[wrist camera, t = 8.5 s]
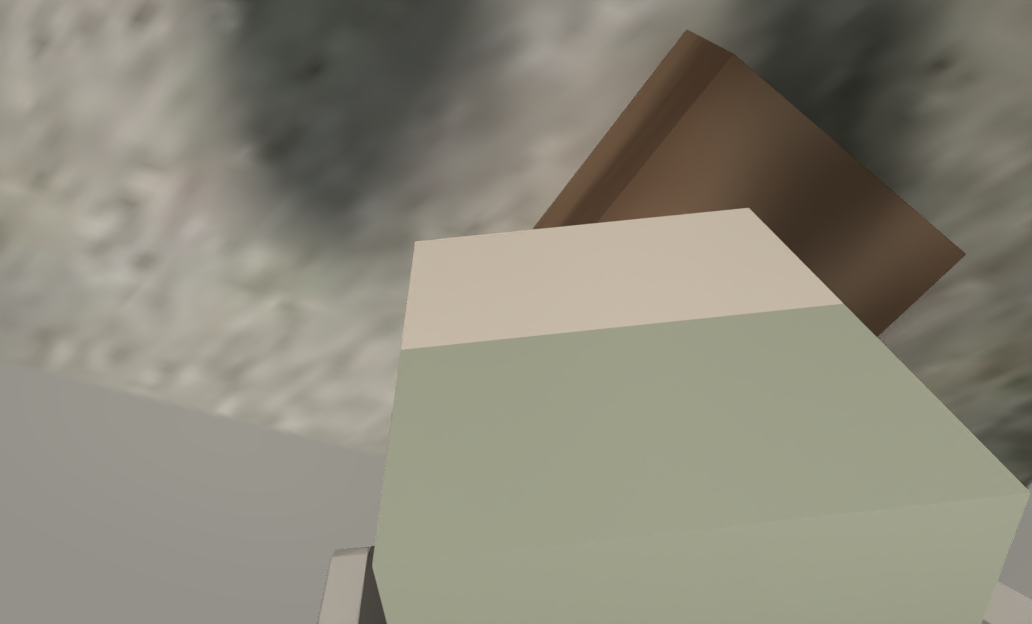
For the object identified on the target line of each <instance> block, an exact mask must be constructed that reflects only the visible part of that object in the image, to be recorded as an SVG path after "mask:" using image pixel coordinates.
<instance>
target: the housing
mask: <svg viewBox="0 0 1032 624" xmlns="http://www.w3.org/2000/svg"><path fill="white" fill-rule="evenodd" d="M1029 496H1030V492H1029V491H1028V490H1027V489H1026V488H1025V487H1024V485H1023V484H1022V483H1021V482H1020V481H1019V480H1018V479H1017V478H1016V477H1015V476H1014V475H1013V474H1012V473H1011V472H1010V471H1009V470H1008V469H1007V468H1006V467H1005V466H1004V465H1003V464H1002V463H1001V462H1000V461H999V460H998V459H997V458H996V457H995V456H994V455H993V454H992V453H991V452H990V451H989V450H988V449H987V448H986V447H985V446H984V445H983V444H982V443H981V442H980V441H979V440H978V439H977V438H976V437H975V436H974V435H973V434H972V433H971V432H970V431H969V430H968V429H967V428H966V427H965V426H964V425H963V424H962V423H961V422H960V421H959V420H958V419H957V418H956V417H955V416H954V415H953V414H952V413H951V412H950V411H949V410H948V409H947V408H946V407H945V406H944V405H943V404H942V403H941V402H940V401H939V400H938V399H937V398H936V397H935V396H934V395H933V394H932V393H931V391H930V390H929V389H928V388H927V387H926V386H925V385H924V384H923V383H922V382H921V381H920V380H919V379H918V378H917V377H916V376H915V375H914V374H913V373H912V372H911V371H910V370H909V369H908V368H907V367H906V366H905V365H904V364H903V363H902V362H901V361H900V360H899V359H898V358H897V357H896V356H895V355H894V354H893V353H892V352H891V351H890V350H889V349H888V348H887V347H886V346H885V345H884V344H883V343H882V342H881V341H880V340H879V339H878V338H877V337H876V336H875V335H874V334H873V333H872V332H871V331H870V330H869V329H868V328H867V327H866V326H865V325H864V324H863V323H862V322H861V321H860V320H859V319H858V318H857V317H856V316H855V315H854V314H853V313H852V312H851V311H850V310H849V309H848V308H847V307H846V306H845V305H844V304H843V303H842V302H841V301H840V300H839V299H838V297H837V296H836V295H835V294H834V293H833V292H832V291H831V290H830V289H829V288H828V287H827V286H826V285H825V284H824V283H823V282H822V281H821V280H820V279H819V278H818V277H817V276H816V275H815V274H814V273H813V272H812V271H811V270H810V269H809V268H808V267H807V266H806V265H805V264H804V263H803V262H802V261H801V260H800V259H799V258H798V257H797V256H796V255H795V254H794V253H793V252H792V251H791V250H790V249H789V248H788V247H787V246H786V245H785V244H784V243H783V242H782V241H781V240H780V239H779V238H778V237H777V236H776V235H775V234H774V233H773V232H772V231H771V230H770V229H769V228H768V227H767V226H766V225H765V224H764V223H763V222H762V221H761V220H760V219H759V218H758V217H757V216H756V215H755V214H754V213H753V212H752V211H751V210H750V209H749V208H742V209H732V210H722V211H712V212H702V213H692V214H682V215H672V216H662V217H652V218H642V219H633V220H623V221H613V222H603V223H593V224H583V225H573V226H563V227H553V228H543V229H533V230H523V231H513V232H504V233H494V234H484V235H474V236H464V237H454V238H444V239H434V240H424V241H415V246H414V254H413V261H412V269H411V276H410V284H409V291H408V299H407V307H406V314H405V322H404V329H403V337H402V344H401V352H400V359H399V367H398V374H397V382H396V389H395V397H394V404H393V412H392V420H391V427H390V435H389V442H388V450H387V457H386V465H385V472H384V480H383V487H382V495H381V502H380V510H379V517H378V525H377V533H376V540H375V548H374V555H373V563H372V568H373V571H374V575H375V579H376V583H377V587H378V591H379V595H380V599H381V602H382V606H383V610H384V614H385V618H386V622H387V624H981V623H982V620H983V618H984V615H985V612H986V610H987V607H988V604H989V602H990V599H991V596H992V594H993V591H994V588H995V586H996V583H997V580H998V578H999V575H1000V572H1001V570H1002V567H1003V565H1004V561H1005V559H1006V556H1007V554H1008V551H1009V549H1010V546H1011V543H1012V540H1013V538H1014V535H1015V533H1016V530H1017V527H1018V525H1019V522H1020V519H1021V517H1022V514H1023V511H1024V509H1025V506H1026V504H1027V501H1028V498H1029Z"/></svg>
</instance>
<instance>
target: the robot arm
mask: <svg viewBox="0 0 1032 624" xmlns="http://www.w3.org/2000/svg"><path fill="white" fill-rule="evenodd" d="M374 548H375V546H371V547H364V548H353V549H340V550H335V552H334V554H333V555H332V557H331V559H330V562H329V567H328V572H327V577H326V582H325V587H324V592H323V597H322V602H321V607H320V612H319V617H318V622H317V624H387V622H386V618H385V614H384V610H383V606H382V602H381V599H380V595H379V591H378V587H377V583H376V579H375V575H374V571H373V568H372V563H373V555H374ZM981 624H1032V600H1030V599H1029V598H1027V597H1025V596H1023V595H1021V594H1020V593H1018V592H1016V591H1014V590H1012V589H1010V588H1009V587H1007V586H1005V585H1003V584H1002V583H1000V582H998V581H997V583H996V586H995V588H994V591H993V594H992V596H991V599H990V602H989V604H988V607H987V610H986V612H985V615H984V618H983V620H982V623H981Z"/></svg>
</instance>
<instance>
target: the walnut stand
mask: <svg viewBox="0 0 1032 624" xmlns="http://www.w3.org/2000/svg"><path fill="white" fill-rule="evenodd" d="M742 208H749V209H750V210H751V211H752V212H753V213H754V214H755V215H756V216H757V217H758V218H759V219H760V220H761V221H762V222H763V223H764V224H765V225H766V226H767V227H768V228H769V229H770V230H771V231H772V232H773V233H774V234H775V235H776V236H777V237H778V238H779V239H780V240H781V241H782V242H783V243H784V244H785V245H786V246H787V247H788V248H789V249H790V250H791V251H792V252H793V253H794V254H795V255H796V256H797V257H798V258H799V259H800V260H801V261H802V262H803V263H804V264H805V265H806V266H807V267H808V268H809V269H810V270H811V271H812V272H813V273H814V274H815V275H816V276H817V277H818V278H819V279H820V280H821V281H822V282H823V283H824V284H825V285H826V286H827V287H828V288H829V289H830V290H831V291H832V292H833V293H834V294H835V295H836V296H837V297H838V299H839V300H840V301H841V302H842V303H843V304H844V305H845V306H846V307H847V308H848V309H849V310H850V311H851V312H852V313H853V314H854V315H855V316H856V317H857V318H858V319H859V320H860V321H861V322H862V323H863V324H864V325H865V326H866V327H867V328H868V329H869V330H870V331H871V332H872V333H873V334H874V335H875V336H876V337H877V336H879V335H880V334H881V333H882V332H883V331H884V330H885V329H886V328H887V327H888V326H889V325H890V324H892V323H893V322H894V321H895V320H896V319H897V318H898V317H899V316H900V315H901V314H902V313H903V312H904V311H906V310H907V309H908V308H909V307H910V306H911V305H912V304H913V303H914V302H915V301H916V300H917V299H918V298H920V297H921V296H922V295H923V294H924V293H925V292H926V291H927V290H928V289H929V288H930V287H931V286H932V285H934V284H935V283H936V282H937V281H938V280H939V279H940V278H941V277H942V276H943V275H944V274H945V273H946V272H948V271H949V270H950V269H951V268H952V267H953V266H954V265H955V264H956V263H957V262H958V261H959V260H961V259H962V258H963V257H964V256H965V255H966V254H965V253H964V252H963V251H962V250H961V249H959V248H958V247H957V246H956V245H955V244H954V243H952V242H951V241H950V240H949V239H948V238H947V237H946V236H944V235H943V234H942V233H941V232H940V231H939V230H937V229H936V228H935V227H934V226H933V225H932V224H930V223H929V222H928V221H927V220H926V219H925V218H923V217H922V216H921V215H920V214H919V213H918V212H917V211H915V210H914V209H913V208H912V207H911V206H910V205H908V204H907V203H906V202H905V201H904V200H903V199H901V198H900V197H899V196H898V195H897V194H896V193H894V192H893V191H892V190H891V189H890V188H889V187H888V186H886V185H885V184H884V183H883V182H882V181H881V180H879V179H878V178H877V177H876V176H875V175H874V174H872V173H871V172H870V171H869V170H868V169H867V168H865V167H864V166H863V165H862V164H861V163H860V162H859V161H857V160H856V159H855V158H854V157H853V156H852V155H850V154H849V153H848V152H847V151H846V150H845V149H843V148H842V147H841V146H840V145H839V144H838V143H836V142H835V141H834V140H833V139H832V138H831V137H829V136H828V135H827V134H826V133H825V132H824V131H823V130H821V129H820V128H819V127H818V126H817V125H816V124H814V123H813V122H812V121H811V120H810V119H809V118H807V117H806V116H805V115H804V114H803V113H802V112H800V111H799V110H798V109H797V108H796V107H795V106H794V105H792V104H791V103H790V102H789V101H788V100H787V99H785V98H784V97H783V96H782V95H781V94H780V93H778V92H777V91H776V90H775V89H774V88H773V87H771V86H770V85H769V84H768V83H767V82H766V81H765V80H763V79H762V78H761V77H760V76H759V75H758V74H756V73H755V72H754V71H753V70H752V69H751V68H749V67H748V66H747V65H746V64H745V63H744V62H742V61H741V60H740V59H739V58H738V57H737V56H736V55H734V54H733V53H731V52H729V51H727V50H725V49H723V48H721V47H719V46H717V45H715V44H713V43H712V42H710V41H708V40H706V39H704V38H702V37H700V36H698V35H696V34H694V33H692V32H690V31H688V30H686V31H685V33H684V34H683V35H682V37H681V38H680V39H679V40H678V42H677V43H676V44H675V46H674V47H673V48H672V50H671V51H670V52H669V53H668V55H667V56H666V57H665V59H664V60H663V61H662V62H661V64H660V65H659V66H658V68H657V69H656V70H655V72H654V73H653V74H652V75H651V77H650V78H649V79H648V81H647V82H646V83H645V84H644V86H643V87H642V88H641V90H640V91H639V92H638V94H637V95H636V96H635V97H634V99H633V100H632V101H631V103H630V104H629V105H628V106H627V108H626V109H625V110H624V112H623V113H622V114H621V116H620V117H619V118H618V119H617V121H616V122H615V123H614V125H613V126H612V127H611V128H610V130H609V131H608V132H607V134H606V135H605V136H604V138H603V139H602V140H601V141H600V143H599V144H598V145H597V147H596V148H595V149H594V150H593V152H592V153H591V154H590V156H589V157H588V158H587V160H586V161H585V162H584V163H583V165H582V166H581V167H580V169H579V170H578V171H577V172H576V174H575V175H574V176H573V178H572V179H571V180H570V182H569V183H568V184H567V185H566V187H565V188H564V189H563V191H562V192H561V193H560V194H559V196H558V197H557V198H556V200H555V201H554V202H553V204H552V205H551V206H550V207H549V209H548V210H547V211H546V213H545V214H544V215H543V216H542V218H541V219H540V220H539V222H538V223H537V224H536V226H535V227H534V228H533V229H543V228H553V227H563V226H573V225H583V224H593V223H603V222H613V221H623V220H633V219H642V218H652V217H662V216H672V215H682V214H692V213H702V212H712V211H722V210H732V209H742ZM533 229H532V230H533Z"/></svg>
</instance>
